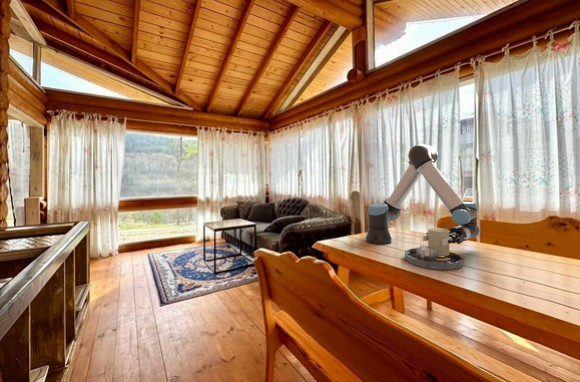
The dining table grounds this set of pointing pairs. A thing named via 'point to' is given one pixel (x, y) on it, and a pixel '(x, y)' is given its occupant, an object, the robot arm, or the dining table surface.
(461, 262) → the carrier plate
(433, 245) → the can
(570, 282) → the dining table surface
